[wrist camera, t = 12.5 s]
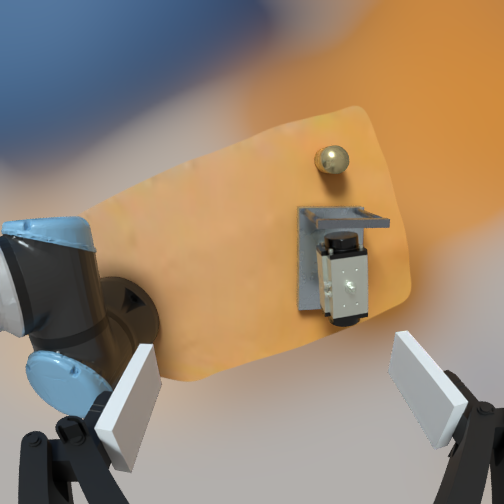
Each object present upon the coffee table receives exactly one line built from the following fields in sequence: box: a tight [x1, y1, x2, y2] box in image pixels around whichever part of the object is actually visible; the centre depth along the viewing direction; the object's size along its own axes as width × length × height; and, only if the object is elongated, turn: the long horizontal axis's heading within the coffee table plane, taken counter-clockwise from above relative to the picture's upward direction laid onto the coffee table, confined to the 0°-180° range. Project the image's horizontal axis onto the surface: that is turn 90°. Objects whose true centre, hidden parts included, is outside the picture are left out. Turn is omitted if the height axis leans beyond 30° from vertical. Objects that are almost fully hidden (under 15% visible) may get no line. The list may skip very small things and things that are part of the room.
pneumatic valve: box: [316, 231, 368, 327], centre depth 42 cm, size 6×12×12 cm, turn 8°
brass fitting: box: [314, 146, 349, 174], centre depth 44 cm, size 4×4×5 cm
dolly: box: [297, 206, 390, 310], centre depth 44 cm, size 10×16×14 cm, turn 2°
